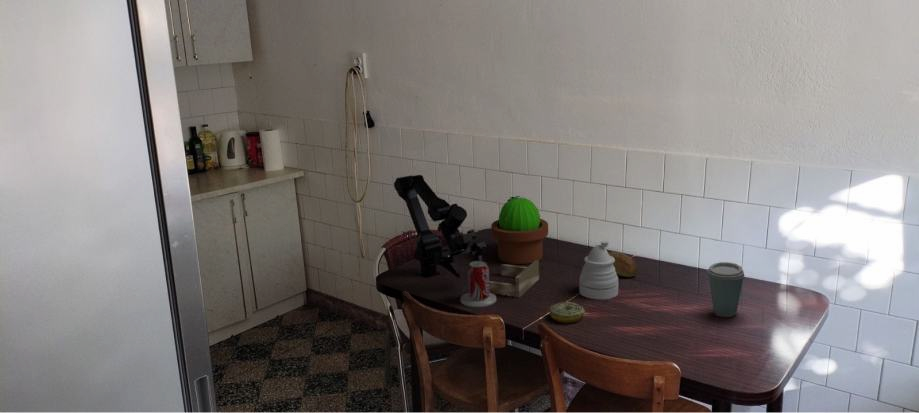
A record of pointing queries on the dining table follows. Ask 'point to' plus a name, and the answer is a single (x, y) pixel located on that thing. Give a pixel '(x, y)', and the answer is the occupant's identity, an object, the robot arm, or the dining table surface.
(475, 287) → the soda can
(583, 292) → the honey pot
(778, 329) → the dining table surface
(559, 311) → the decorated donut
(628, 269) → the bread roll
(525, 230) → the potted cactus
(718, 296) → the disposable coffee cup
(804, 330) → the dining table surface
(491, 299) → the saucer
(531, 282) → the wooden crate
